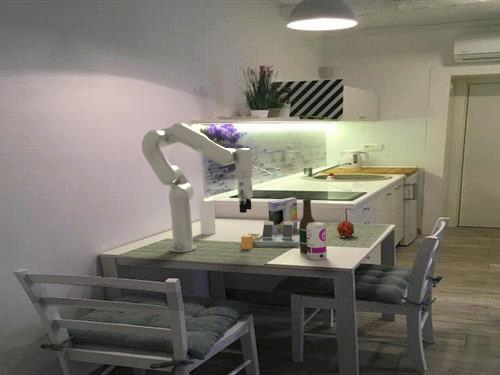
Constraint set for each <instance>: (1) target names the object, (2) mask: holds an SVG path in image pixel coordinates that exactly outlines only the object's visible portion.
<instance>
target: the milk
mask: <svg viewBox="0 0 500 375" xmlns="http://www.w3.org/2000/svg"><path fill="white" fill-rule="evenodd" d="M198 206H199V222H200V224H199V225H200V234H201V235H205V236H209V235H214V234H216V213H215V199H213V197H212V196H211V194H210V193H208V194H203V195H201V198H200V199H199V200H198Z"/></svg>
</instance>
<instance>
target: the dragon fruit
mask: <svg viewBox="0 0 500 375" xmlns="http://www.w3.org/2000/svg"><path fill="white" fill-rule="evenodd" d="M336 232H338V235H339V236H340V237H341V236H346V237H348V236H350V237H352V235H354V234H355V228H354V223H352V222H350V221H348V220H347V221H346V220H343V221H342V222H339V223H338V225H337V227H336Z"/></svg>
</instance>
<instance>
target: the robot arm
mask: <svg viewBox="0 0 500 375" xmlns="http://www.w3.org/2000/svg"><path fill="white" fill-rule="evenodd" d="M141 141H142V142H141V151H142V154H143V156H144V158H145V160H146V161H147V163H148V164H149V165H150V167H151V169H152V170H153V172H154V174H155V175H156V177H157V178H158V181H159V182H160V184H162V185H164V186H169V188H170V190H169V194H168V201H169V202H168V203H169V207H170V217H171V229H172V230H171V232H172V244H173V245H171V247H170V248H169V249H170V252H172V253H173V252H174V253H187V252H191V251H195V250H196V249H197V245H196V244H194V240H193V239H194V238H193V236H194V235H193V225H192V224H193V220H192V219H193V218H192V210H191V209H192V208H191V204H190V201H191V200H192V199H193V197H194V188H193V186H192V184H191V183H190V181H189V179H188V178H187V176H186V175H185V174H184V172H183V171H182V169H181V168H180V167H179V166H177V165H174V164H171V162H170V161H169V160H168V158H167V157H166V155H165V153H163V151H162V150H161V148H165V147H168V146H171V145H173V144H177V143H178V144H179V143H180V144H182V145H183V146H186V147H188V148H189V149H191V150H194V151H196V152H197V153H198V154H201V155H202V156H204V157H206V158H207V159H209V160H212V161H213V162H215V163H218V164H220V165H221V166H229V165H231V164H235V174H236V175H235V176H236V177H235V178H236V179H237V198H238V201H239V213H241V214H244V213H247V212H248V211H247V210H252V198H253V196H254V193H253V190H254V189H253V182H252V178H253V168H252V163H253V162H252V151H251V149H250V148H245V147H244V148H243V147H242V148H236V149H235V148H225V147H224V146H221V145H219V144H217V143H215V142H214V141H212V140H210V139H209V138H208V136H207V135H205V134H203V133H202V132H199V131H198V130H195V129H193V128H191V127H190V126H189V125H188V124H186V123H182V122H175V123H174V124H172V125H171V126H169V127H166V128H162V129H151V130H149V131H148V132H146V133H145V135H144V136H143V138H142V140H141Z"/></svg>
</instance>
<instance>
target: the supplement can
mask: <svg viewBox="0 0 500 375" xmlns="http://www.w3.org/2000/svg"><path fill="white" fill-rule="evenodd" d="M326 227H327V226H326V225H325V223H324V222H321V221H315V222H311V223H308V225H307V227H306V229H307V254H306V256H307V257H308V259H309V260H313V261H321V260H325V259H326V258H327V255H328V254H327V228H326Z"/></svg>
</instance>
